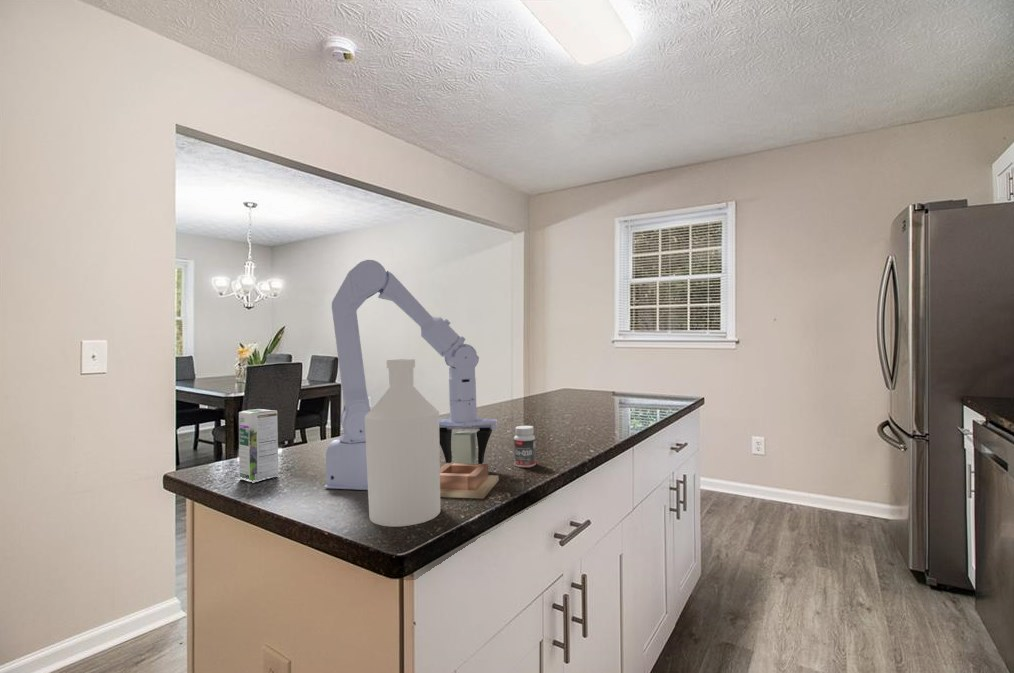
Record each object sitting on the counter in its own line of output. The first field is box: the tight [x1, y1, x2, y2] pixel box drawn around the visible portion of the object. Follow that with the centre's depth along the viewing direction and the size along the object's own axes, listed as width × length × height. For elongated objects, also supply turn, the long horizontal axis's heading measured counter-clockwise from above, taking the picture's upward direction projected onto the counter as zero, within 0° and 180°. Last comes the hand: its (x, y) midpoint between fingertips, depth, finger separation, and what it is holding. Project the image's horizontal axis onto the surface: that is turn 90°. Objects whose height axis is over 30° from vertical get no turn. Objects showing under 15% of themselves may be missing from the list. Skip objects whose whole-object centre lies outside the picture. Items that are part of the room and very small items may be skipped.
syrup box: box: [238, 408, 279, 481], centre depth 103 cm, size 6×6×14 cm
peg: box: [451, 431, 478, 464], centre depth 105 cm, size 4×4×8 cm
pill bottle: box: [513, 425, 537, 468], centre depth 108 cm, size 5×5×8 cm
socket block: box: [440, 462, 500, 500], centre depth 92 cm, size 12×11×4 cm
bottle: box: [365, 358, 441, 527], centre depth 80 cm, size 12×12×25 cm
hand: (464, 463), depth 105 cm, fingers open, 6 cm apart
